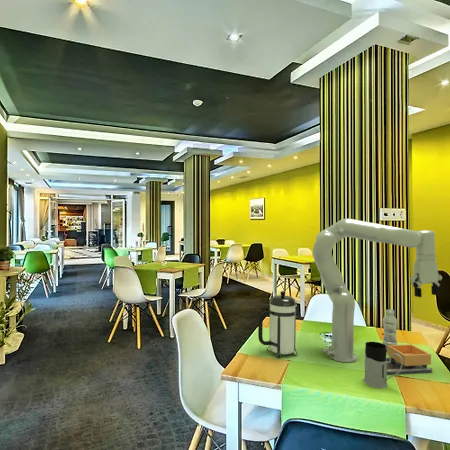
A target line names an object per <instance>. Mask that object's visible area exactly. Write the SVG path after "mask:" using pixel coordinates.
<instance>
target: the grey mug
mask: <svg viewBox="0 0 450 450" xmlns="http://www.w3.org/2000/svg"><path fill="white" fill-rule="evenodd" d="M364 349H365V350H364V378H363V383H364V384H365V385H366V386H368V387H371V388H374V389H386V388H388V386H389V384H388V380H389V379H391V378H394V377H395V376H398V375H399V374H398V373H399V372H400V371H401V369H402V364H403V361H402V357H401V356H400V355H399V354H396V353H393V354H392V355H394V354H396V355H398V356H399V357H400V358H401V367H400V370H399V371H398V372H397V373H396V374H395V375H390V376H389V377H387V363H390V362H391V357H392V355H391V356H389V357H390V361H389V362H387V359H386V357H387V350H386V345H384V344H383V342H378V341H366V342H365V348H364Z"/></svg>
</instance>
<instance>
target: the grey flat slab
mask: <svg viewBox="0 0 450 450" xmlns="http://www.w3.org/2000/svg"><path fill="white" fill-rule="evenodd" d="M386 359H387V362H389V361H390V356H388V357H387V356H386ZM400 367H401V363H400V362H398V361H396V360H393V359H391V362H390V363H387V375H388V376H389V375H390V376H393V375H395V374H396V373H397V372H398V371H399V370H400ZM432 369H433V368H432V367H428V366H427V367H426V368H424V367H422V366H421V365H413V366H410V367H409V368H405V367H404V365H403V364H402V369H401V371H400V372H399V373H398V374H397V375H410V374H432V372H433V370H432ZM395 376H396V375H395Z"/></svg>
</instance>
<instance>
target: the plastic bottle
mask: <svg viewBox="0 0 450 450" xmlns="http://www.w3.org/2000/svg"><path fill="white" fill-rule="evenodd" d="M395 315H396V314H395V310H394V309H391V308H388V309H386V310H385V315H384V317H383V319H382V324H383V341H382V344H384V345H386V351H387V345H398V342H397V328H398V327H397V326H398V319H397V318H396V316H395Z"/></svg>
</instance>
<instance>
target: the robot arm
mask: <svg viewBox="0 0 450 450" xmlns="http://www.w3.org/2000/svg"><path fill="white" fill-rule="evenodd" d="M346 237H347V238H353V239H359V240H364V241H369V242H375V243H382V244H383V243H384V244H389V245H395V246H401V247H404V248H405V247H406V248H409V249H410V248H411V249H413V248H415V260H414V263H413V270H412V272H413V273H412V276H411V277H410V278H409V281H410V283H411V285H412V287H413V288H414V297H417V298H422V297H423V296H422V288H421V287H422V285H424V284H431V295H433V296H436V297H437V296H439V295H440V292H439V291H440V289H439V287H440V286H441V283H442V279H443V276H442V275H441V274H440V273H439V271H438V264H437V260H436V257H437V256H436V234H435V231H434V230H430V229H429V230H427V229H426V230H417V231H416V230H412V229H406V228H400V227H396V226H395V227H394V226H389V225H384V224H382V223H375V222H369V221H365V220H359V219H354V218H342V219H340V220H338V221H337V222H335V223H334V224H332V225H330V226H328V227H326V228H325V229H323V230H322V231H319V233H318V234H317V235H316V238H315V242H314V245H313V247H312V258H313V261H314V263H315V266H316V268H317V270H318V272H319V274H320V280H321V283H322V284H323V286H324V289H325V291H326V293H327V295H328V297H329V299H330V300H331V302H332V312H331V313H332V315H331V318H332V319H331V345H329V347H327V348H322V349H321V353H323V354H327V355H328V357H329V358H330V359H331V360H333V361H336V362H341V363H355V362H356V361H357V360H358V356H357V354H355V353H354V340H355V339H354V336H355V335H354V334H355V333H354V332H355V331H354V329H355V326H354V324H355V323H354V322H355V321H354V320H355V319H354V318H355V317H354V316H355V309H356V308H355V307H356V300H355V298H354V295H353V294H352V293H351V291H349V290H348V287H347V286H346V284H345V282H344V277H343V274H342V272H341V271H340V270H339V268H338V265H337V263H336V261H335V259H334V256H333V253H332V252H333V248H334V247H335V246H336V244H337V243H338V242H340V241H342V240H343V239H346Z"/></svg>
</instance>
